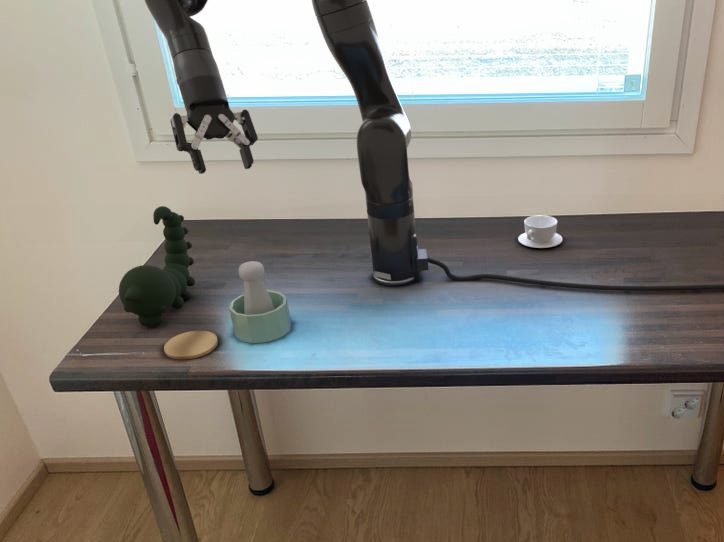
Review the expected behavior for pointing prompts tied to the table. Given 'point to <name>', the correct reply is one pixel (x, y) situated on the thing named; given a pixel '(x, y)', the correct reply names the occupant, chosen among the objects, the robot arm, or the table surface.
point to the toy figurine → (160, 275)
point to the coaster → (190, 345)
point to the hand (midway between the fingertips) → (226, 169)
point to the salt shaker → (255, 289)
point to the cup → (261, 320)
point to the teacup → (540, 232)
